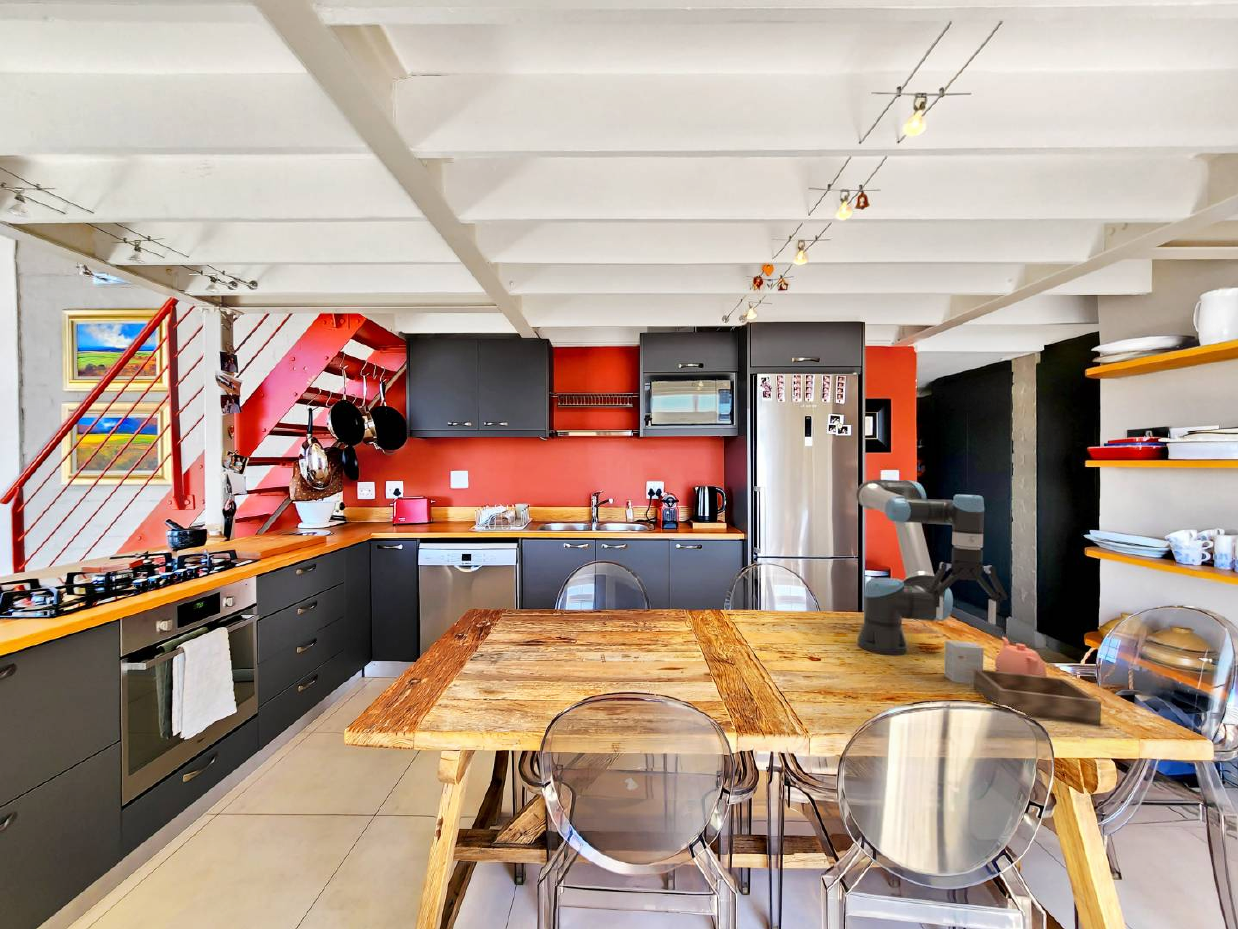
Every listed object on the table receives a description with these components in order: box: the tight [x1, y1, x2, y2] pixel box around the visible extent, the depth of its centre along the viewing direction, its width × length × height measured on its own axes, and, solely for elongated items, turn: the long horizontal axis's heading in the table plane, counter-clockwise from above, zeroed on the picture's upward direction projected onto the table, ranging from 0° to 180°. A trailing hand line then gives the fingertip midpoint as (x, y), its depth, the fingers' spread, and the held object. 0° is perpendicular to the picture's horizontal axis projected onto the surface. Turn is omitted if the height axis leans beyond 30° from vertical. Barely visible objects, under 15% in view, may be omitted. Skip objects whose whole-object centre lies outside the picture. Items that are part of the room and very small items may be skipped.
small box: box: [943, 640, 985, 685], centre depth 154 cm, size 8×6×10 cm
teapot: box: [994, 636, 1048, 677], centre depth 160 cm, size 12×18×10 cm
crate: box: [973, 669, 1102, 726], centre depth 138 cm, size 21×15×6 cm
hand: (965, 621), depth 154 cm, fingers open, 13 cm apart
